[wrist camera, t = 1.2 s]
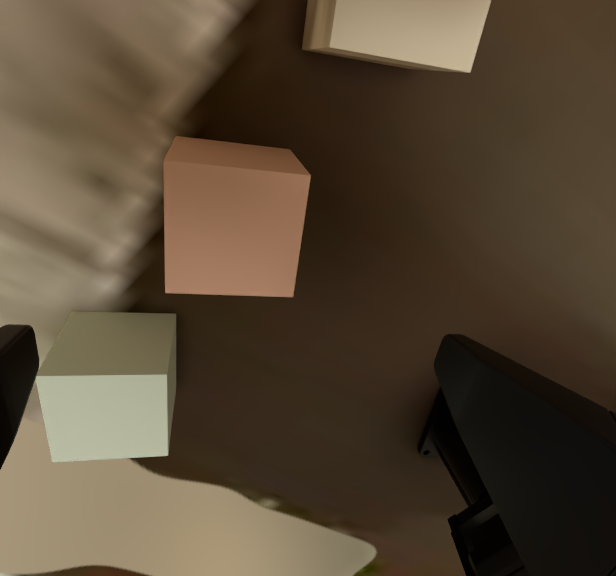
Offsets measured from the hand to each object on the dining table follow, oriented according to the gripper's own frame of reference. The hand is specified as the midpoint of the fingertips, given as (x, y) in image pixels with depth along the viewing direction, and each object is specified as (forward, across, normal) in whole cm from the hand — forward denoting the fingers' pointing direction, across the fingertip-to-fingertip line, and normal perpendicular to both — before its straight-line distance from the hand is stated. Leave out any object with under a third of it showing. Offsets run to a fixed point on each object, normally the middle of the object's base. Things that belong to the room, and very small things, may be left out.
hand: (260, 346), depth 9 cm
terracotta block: (+12, 0, 0) cm, 12 cm away
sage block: (+12, +5, +9) cm, 16 cm away
